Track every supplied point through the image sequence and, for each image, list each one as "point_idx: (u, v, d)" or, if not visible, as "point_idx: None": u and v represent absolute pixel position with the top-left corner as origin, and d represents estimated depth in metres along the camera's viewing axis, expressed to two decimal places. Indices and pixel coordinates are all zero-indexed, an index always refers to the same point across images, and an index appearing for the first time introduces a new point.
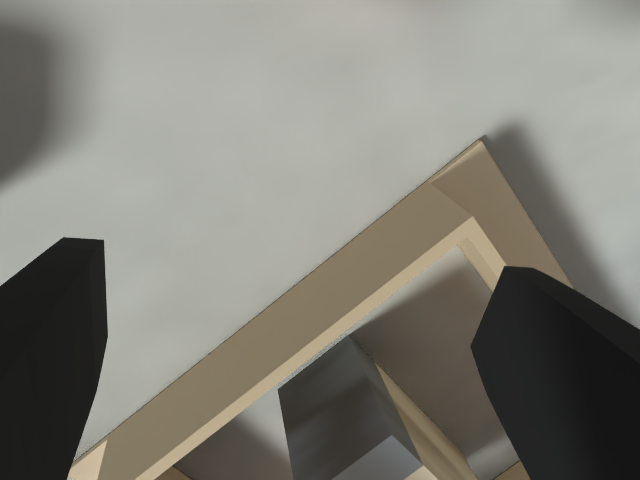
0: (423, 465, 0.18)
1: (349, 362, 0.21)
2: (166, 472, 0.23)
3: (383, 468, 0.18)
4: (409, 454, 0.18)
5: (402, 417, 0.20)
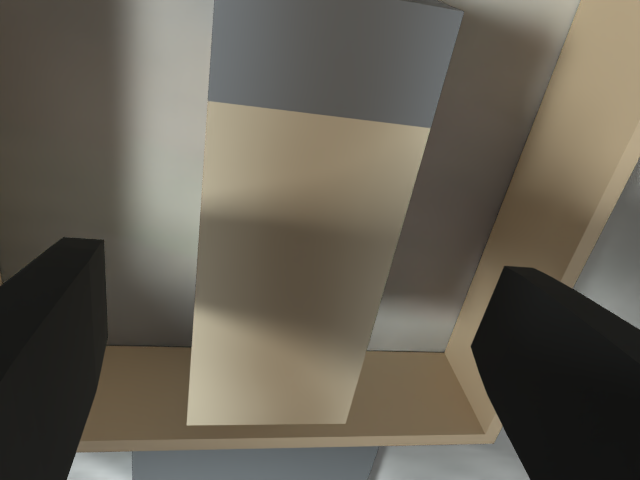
0: (429, 128, 0.10)
1: None
2: None
3: (389, 64, 0.09)
4: (439, 84, 0.09)
5: None
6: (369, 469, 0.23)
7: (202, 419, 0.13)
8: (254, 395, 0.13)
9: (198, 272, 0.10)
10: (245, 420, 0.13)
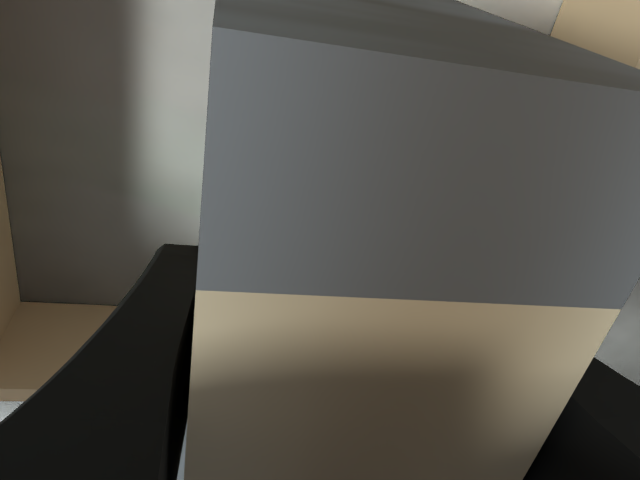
0: (619, 308, 0.05)
1: (466, 9, 0.08)
2: None
3: (568, 209, 0.04)
4: None
5: None
6: None
7: None
8: None
9: None
10: None
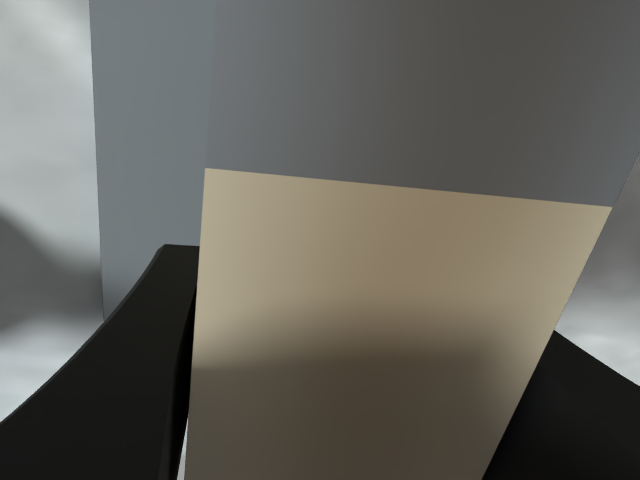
0: (610, 207, 0.05)
1: None
2: None
3: (559, 94, 0.05)
4: None
5: None
6: None
7: None
8: None
9: (189, 448, 0.06)
10: None
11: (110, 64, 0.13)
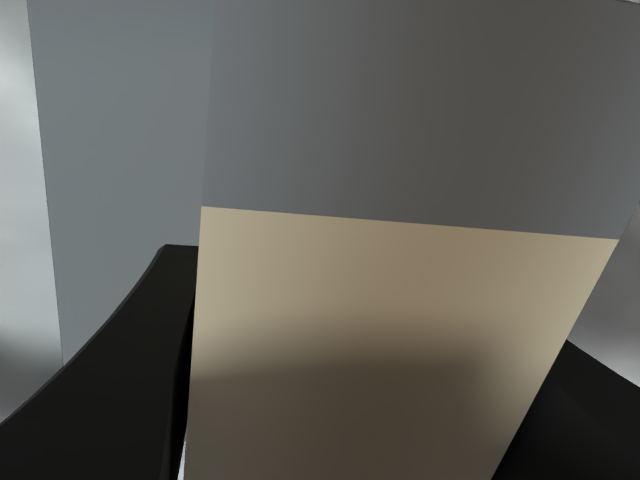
0: (616, 238, 0.05)
1: None
2: None
3: (567, 129, 0.04)
4: None
5: None
6: None
7: None
8: None
9: (187, 473, 0.06)
10: None
11: (65, 122, 0.10)
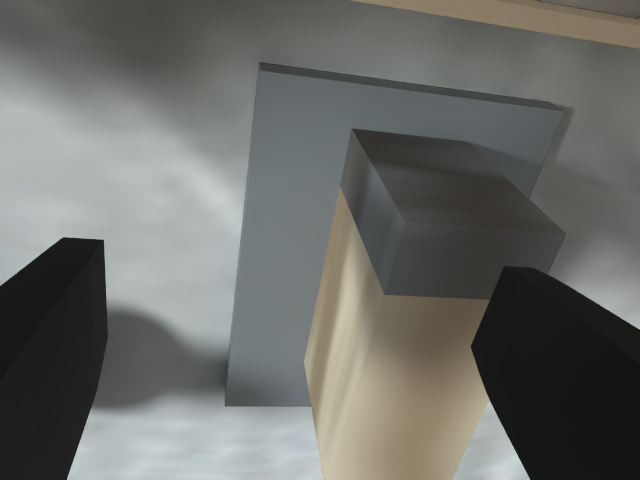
0: None
1: (474, 158, 0.16)
2: None
3: None
4: None
5: None
6: (529, 193, 0.19)
7: None
8: (380, 477, 0.16)
9: (356, 397, 0.14)
10: None
11: (257, 223, 0.18)
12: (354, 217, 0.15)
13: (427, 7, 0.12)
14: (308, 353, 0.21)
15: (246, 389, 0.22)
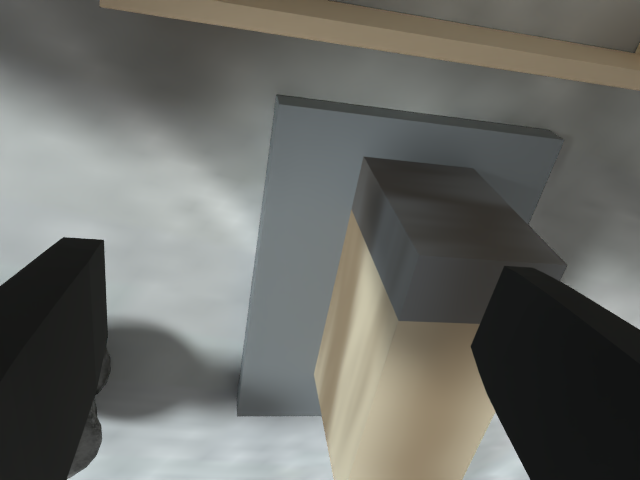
0: None
1: (480, 186, 0.17)
2: None
3: None
4: None
5: None
6: (530, 215, 0.20)
7: None
8: None
9: (369, 414, 0.15)
10: None
11: (273, 245, 0.19)
12: (367, 242, 0.16)
13: (439, 54, 0.13)
14: (318, 366, 0.22)
15: (258, 400, 0.23)
